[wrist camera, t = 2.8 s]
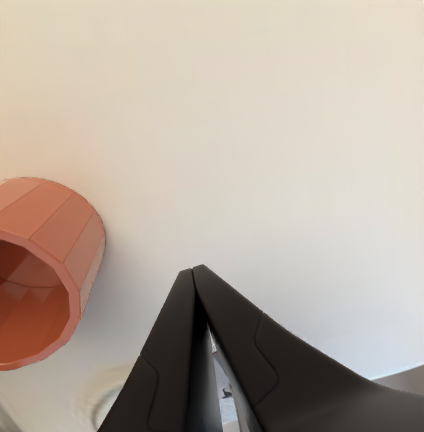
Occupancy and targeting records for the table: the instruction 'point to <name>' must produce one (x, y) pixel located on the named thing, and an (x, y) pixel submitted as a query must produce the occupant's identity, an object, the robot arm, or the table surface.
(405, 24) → the table surface
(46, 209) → the cup
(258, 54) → the table surface
